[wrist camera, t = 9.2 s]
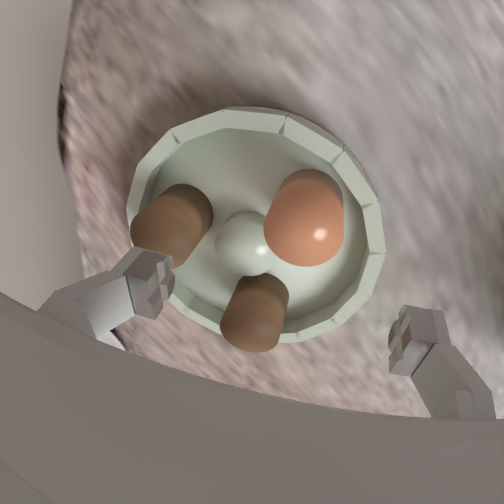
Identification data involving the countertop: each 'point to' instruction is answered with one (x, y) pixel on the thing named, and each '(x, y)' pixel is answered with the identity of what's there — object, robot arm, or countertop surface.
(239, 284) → the seated bead
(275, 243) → the loose bead
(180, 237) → the seated bead
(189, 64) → the countertop surface
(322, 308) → the groove tray
